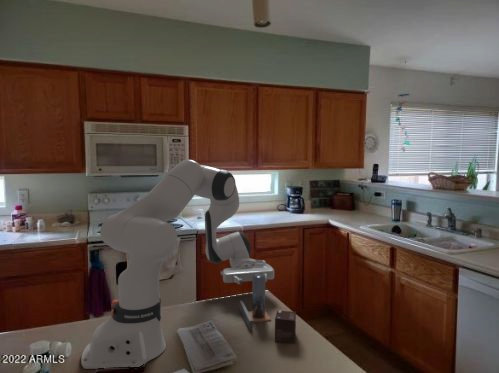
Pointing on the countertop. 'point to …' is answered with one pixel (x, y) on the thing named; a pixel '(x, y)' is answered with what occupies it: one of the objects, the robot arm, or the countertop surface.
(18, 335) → the countertop surface
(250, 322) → the wall
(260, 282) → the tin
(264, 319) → the coaster
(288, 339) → the box
